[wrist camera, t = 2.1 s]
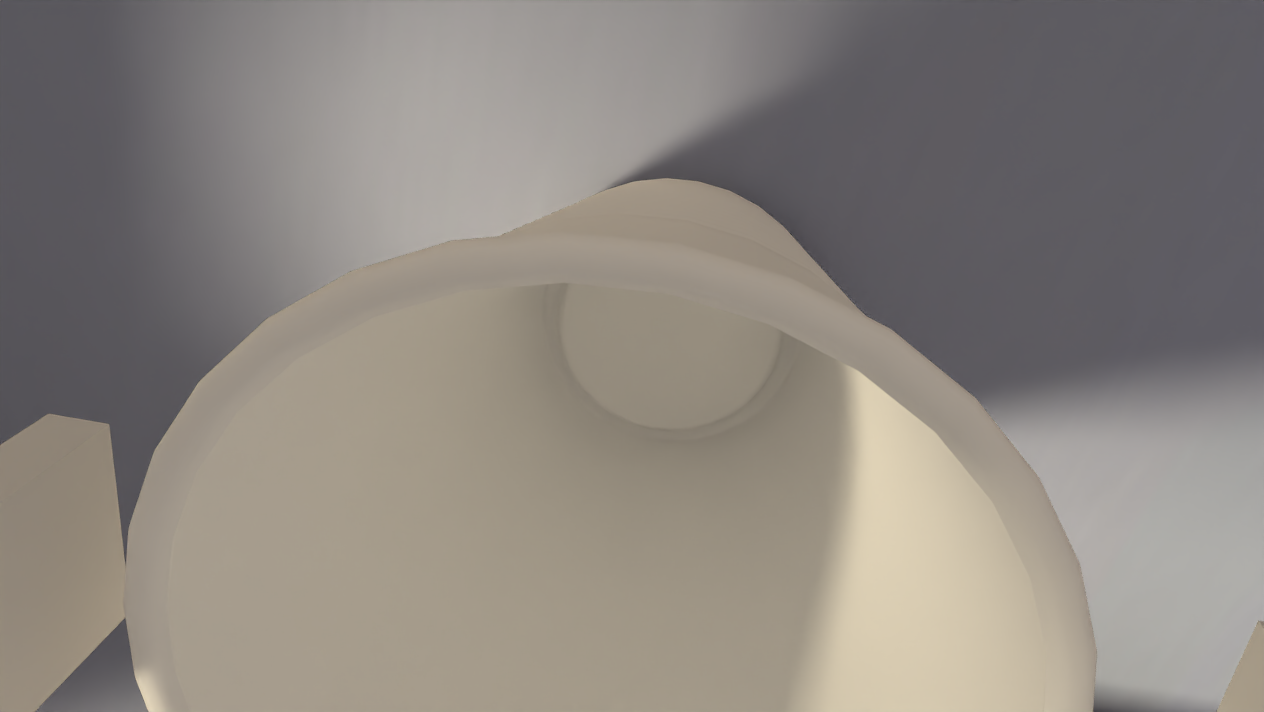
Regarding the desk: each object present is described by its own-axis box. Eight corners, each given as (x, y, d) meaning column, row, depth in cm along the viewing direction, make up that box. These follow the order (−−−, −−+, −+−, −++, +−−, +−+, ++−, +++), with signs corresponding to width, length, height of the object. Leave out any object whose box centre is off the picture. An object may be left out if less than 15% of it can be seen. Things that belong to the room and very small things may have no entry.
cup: (984, 450, 20) (1208, 950, 10) (558, 582, 23) (403, 1086, 13) (819, -20, 17) (909, 37, 7) (346, 193, 20) (-78, 455, 10)
